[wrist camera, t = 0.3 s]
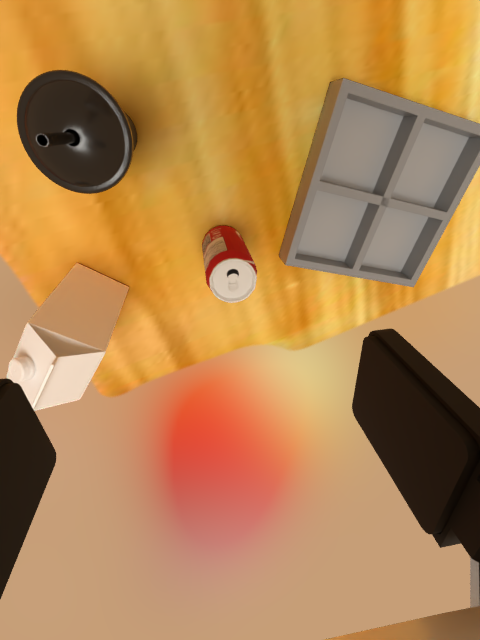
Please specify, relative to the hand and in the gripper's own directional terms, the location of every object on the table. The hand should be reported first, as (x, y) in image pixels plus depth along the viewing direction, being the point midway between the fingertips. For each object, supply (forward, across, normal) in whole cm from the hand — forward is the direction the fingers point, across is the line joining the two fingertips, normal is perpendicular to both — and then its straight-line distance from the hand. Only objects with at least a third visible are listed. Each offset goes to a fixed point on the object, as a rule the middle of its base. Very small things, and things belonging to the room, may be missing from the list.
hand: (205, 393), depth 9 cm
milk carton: (+35, +15, +12) cm, 40 cm away
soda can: (+35, -3, +6) cm, 36 cm away
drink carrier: (+34, -23, +2) cm, 42 cm away
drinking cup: (+35, +7, -7) cm, 36 cm away
